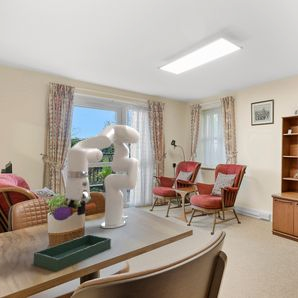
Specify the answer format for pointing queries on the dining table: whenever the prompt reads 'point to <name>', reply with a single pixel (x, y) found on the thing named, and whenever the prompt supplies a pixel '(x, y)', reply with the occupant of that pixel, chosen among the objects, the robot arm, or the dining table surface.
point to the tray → (71, 252)
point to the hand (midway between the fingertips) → (76, 213)
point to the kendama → (69, 211)
